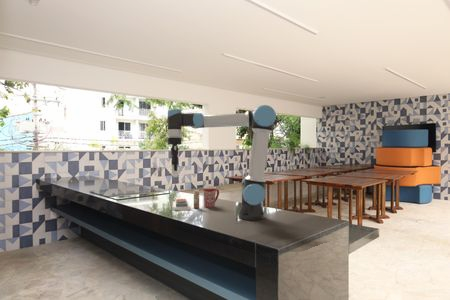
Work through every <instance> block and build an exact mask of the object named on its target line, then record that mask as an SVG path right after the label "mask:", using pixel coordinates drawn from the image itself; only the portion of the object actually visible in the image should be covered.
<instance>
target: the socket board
mask: <svg viewBox="0 0 450 300" xmlns="http://www.w3.org/2000/svg"><path fill="white" fill-rule="evenodd" d="M172 207H173V208H172V209H173V211H191V204H190V202H189V200H187V198H176V199H175V201H172Z"/></svg>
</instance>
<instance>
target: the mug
mask: <svg viewBox="0 0 450 300" xmlns="http://www.w3.org/2000/svg"><path fill="white" fill-rule="evenodd" d="M202 189H203V205H204V208H208V209H211V208H215V206H216V202H217V200H218V198H219V195H220V191H219V189H217V187H215V186H204V187H203V188H202Z"/></svg>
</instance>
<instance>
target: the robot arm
mask: <svg viewBox="0 0 450 300" xmlns="http://www.w3.org/2000/svg"><path fill="white" fill-rule="evenodd" d="M276 119H277V113H276V111H275V109H274V108H273V107H272V106H270V105H267V104H264V105H263V104H262V105H259V106H257V107H256V108H255V110H247V111H246V112H244V113H243V112H241V113H240V112H239V113H221V114H217V113H215V114H203V113H202V112H182V109H179V108H171V109H170V108H169V109H168V110H167V130H166V133H167V137H168V138H167V145H171V147H170V152H171V153H170V154H171V175H172V178H179V147H178V145H182V135H183V133H182V127H189V128H190V127H191V128H192V129H202V128H203V129H204V128H205V129H206V128H227V127H228V128H230V127H246V128H247V127H248V128H251V130H252V131H253V136H252V143H251V152H250V158H249V166H248V175H247V176H246V177H244V178H243V179H242V180H241V205H240V209H239V213H238V218H239V219H241V220H246V221H260V220H264V219H265V212H264V208H263V206H262V203H263V202H264V200H265V198H266V185H267V184H266V183H267V180H266V179H265V178H264V177H265V171H266V170H265V169H266V162H267V153H268V148H269V141H270V135H271V133H273V131H274V124H275V121H276Z"/></svg>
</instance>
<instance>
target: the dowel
mask: <svg viewBox="0 0 450 300" xmlns="http://www.w3.org/2000/svg"><path fill="white" fill-rule="evenodd" d="M193 209H196V210H197V209H198V210H199V209H200V190H198V189H197V190H196V189H195V190H193Z"/></svg>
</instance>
